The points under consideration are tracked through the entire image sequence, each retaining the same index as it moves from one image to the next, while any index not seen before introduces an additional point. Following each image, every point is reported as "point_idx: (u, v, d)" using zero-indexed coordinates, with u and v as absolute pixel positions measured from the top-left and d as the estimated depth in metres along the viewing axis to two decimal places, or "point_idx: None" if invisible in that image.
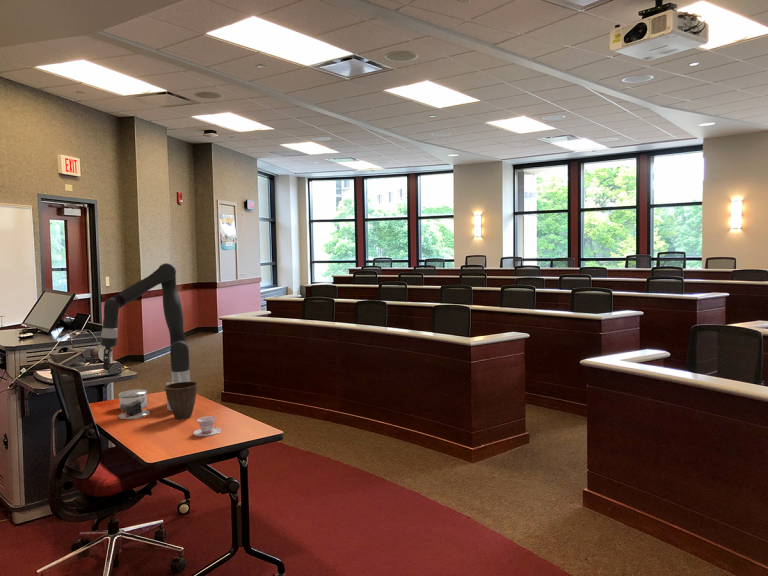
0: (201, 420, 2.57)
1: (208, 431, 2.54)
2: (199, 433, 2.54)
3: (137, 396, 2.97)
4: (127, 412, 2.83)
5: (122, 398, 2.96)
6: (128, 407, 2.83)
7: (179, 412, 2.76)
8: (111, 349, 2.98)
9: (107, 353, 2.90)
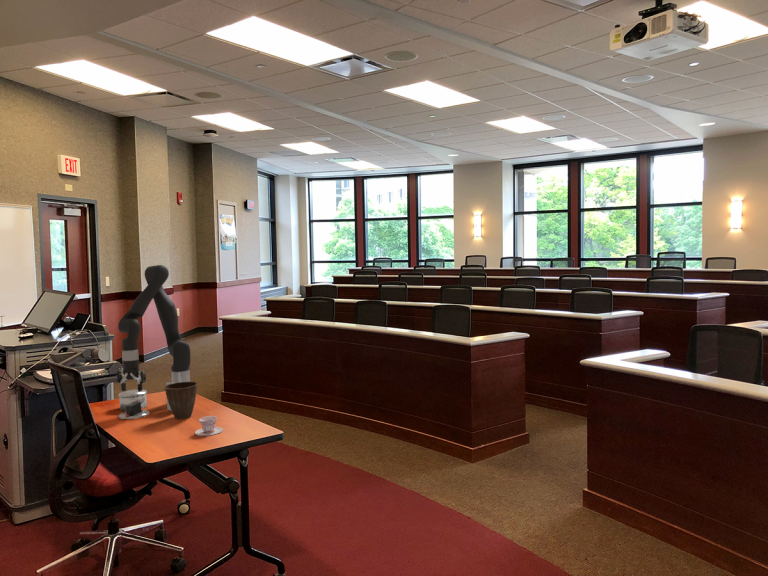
0: (203, 420, 2.58)
1: (210, 431, 2.55)
2: (201, 433, 2.55)
3: (137, 396, 2.97)
4: (127, 412, 2.83)
5: (122, 398, 2.96)
6: (128, 407, 2.83)
7: (179, 412, 2.76)
8: None
9: (144, 374, 2.85)
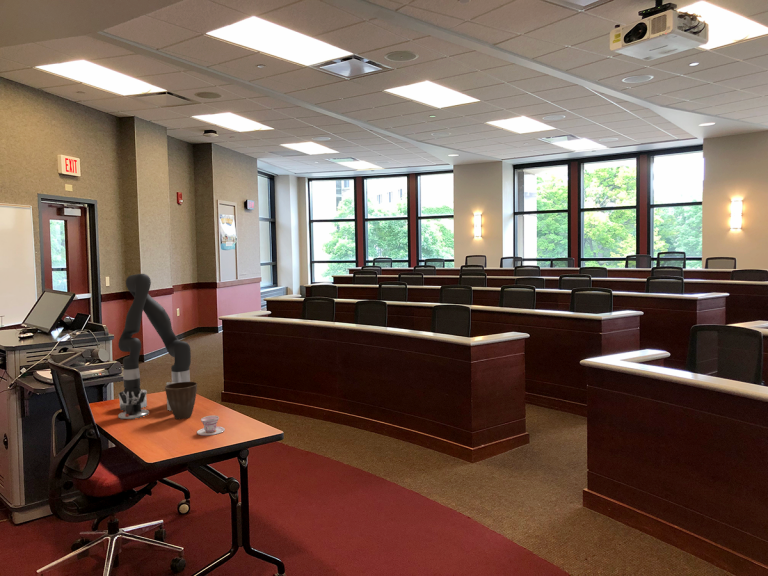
0: (205, 419, 2.58)
1: (212, 430, 2.55)
2: (203, 432, 2.55)
3: None
4: (127, 411, 2.83)
5: None
6: (128, 406, 2.83)
7: (179, 412, 2.76)
8: None
9: (144, 395, 2.86)
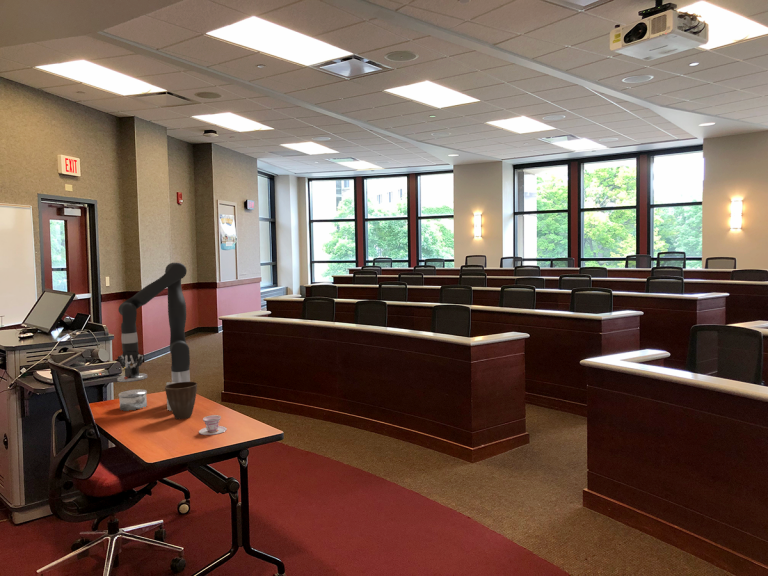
0: (207, 419, 2.59)
1: (214, 430, 2.56)
2: (205, 432, 2.56)
3: (137, 396, 2.97)
4: (126, 374, 2.90)
5: (122, 398, 2.96)
6: (127, 369, 2.90)
7: (179, 412, 2.76)
8: None
9: (142, 359, 2.93)
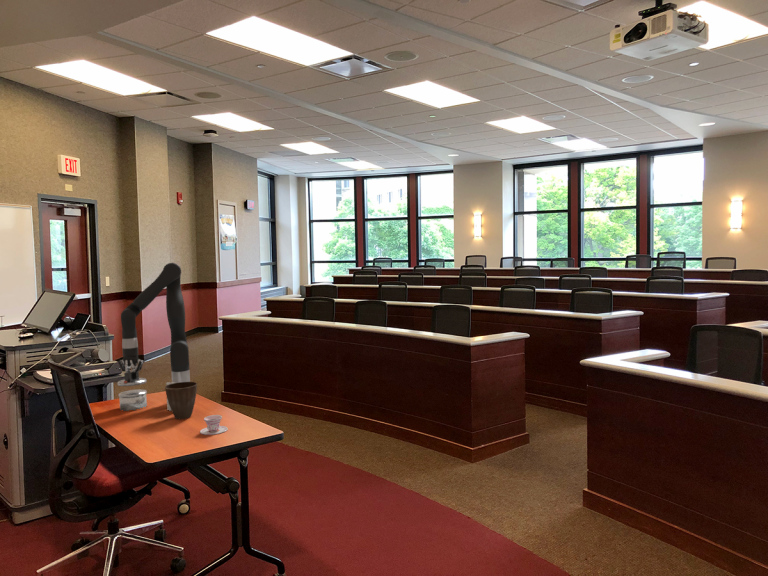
0: (208, 419, 2.59)
1: (215, 430, 2.56)
2: (206, 432, 2.56)
3: (137, 396, 2.97)
4: (125, 379, 2.97)
5: (122, 398, 2.96)
6: (126, 374, 2.97)
7: (179, 412, 2.76)
8: None
9: (142, 364, 3.00)
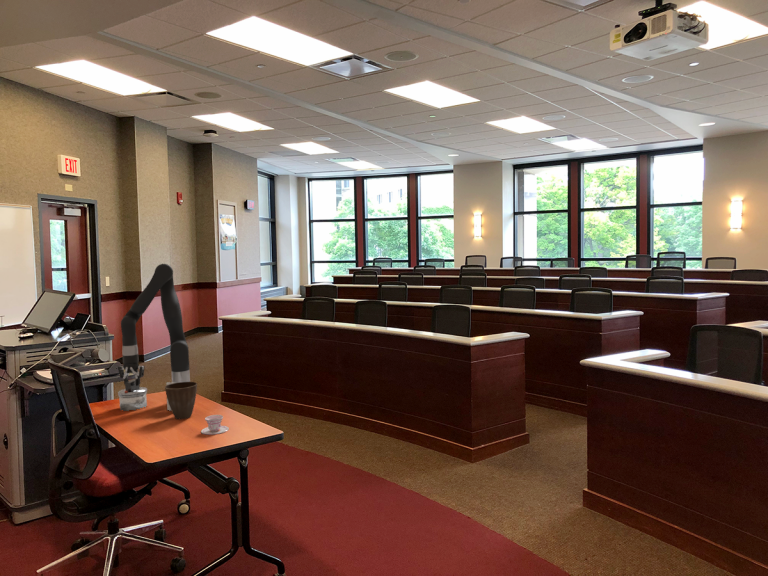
0: (209, 418, 2.60)
1: (216, 429, 2.56)
2: (207, 431, 2.57)
3: (137, 396, 2.97)
4: (126, 388, 2.98)
5: (122, 398, 2.96)
6: (127, 384, 2.97)
7: (179, 412, 2.76)
8: None
9: (143, 369, 3.00)
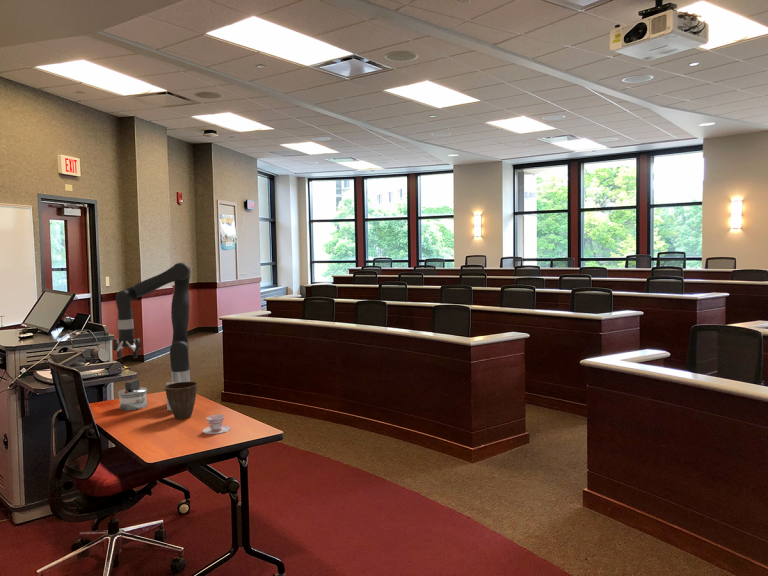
0: (210, 418, 2.60)
1: (217, 429, 2.57)
2: (208, 431, 2.57)
3: (137, 396, 2.97)
4: (126, 388, 2.98)
5: (122, 398, 2.96)
6: (127, 384, 2.97)
7: (179, 412, 2.76)
8: None
9: (139, 342, 3.03)
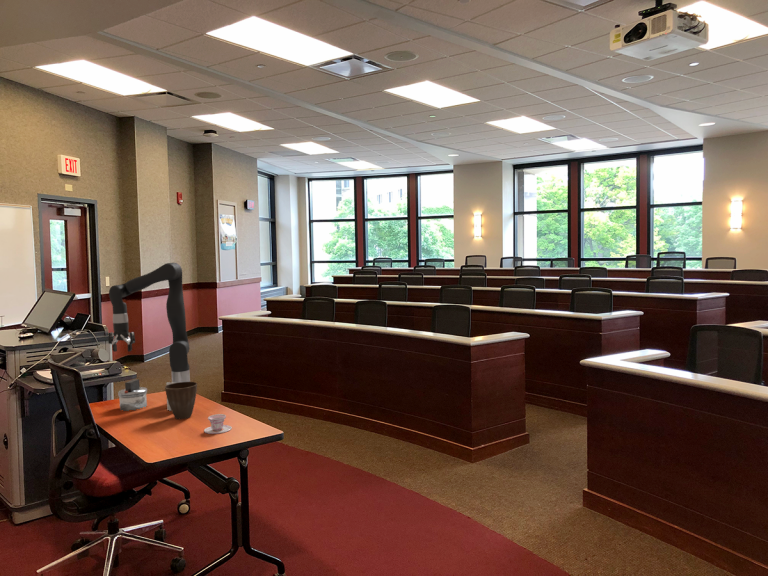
0: (212, 418, 2.60)
1: (219, 429, 2.57)
2: (210, 431, 2.57)
3: (137, 396, 2.97)
4: (126, 388, 2.98)
5: (122, 398, 2.96)
6: (127, 384, 2.97)
7: (179, 412, 2.76)
8: None
9: (133, 335, 3.11)
